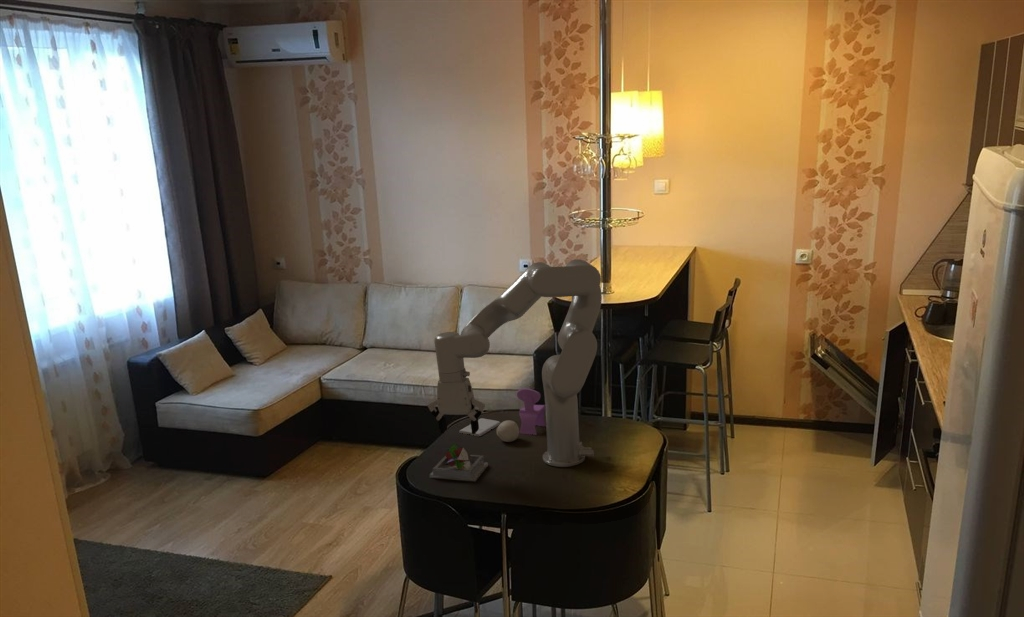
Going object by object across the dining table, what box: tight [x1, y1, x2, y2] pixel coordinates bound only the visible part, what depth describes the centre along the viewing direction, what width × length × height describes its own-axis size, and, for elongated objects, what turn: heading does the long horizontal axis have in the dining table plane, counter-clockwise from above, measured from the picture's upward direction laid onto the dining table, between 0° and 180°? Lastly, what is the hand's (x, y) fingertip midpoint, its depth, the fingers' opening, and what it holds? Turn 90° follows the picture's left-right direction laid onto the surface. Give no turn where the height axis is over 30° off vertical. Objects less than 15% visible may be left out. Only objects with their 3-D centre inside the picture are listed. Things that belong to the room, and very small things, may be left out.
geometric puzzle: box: [444, 443, 470, 469], centre depth 228 cm, size 7×7×8 cm
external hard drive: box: [458, 417, 501, 437], centre depth 262 cm, size 2×8×12 cm
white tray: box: [429, 454, 489, 482], centre depth 228 cm, size 14×12×3 cm
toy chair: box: [516, 387, 546, 436], centre depth 257 cm, size 8×9×15 cm
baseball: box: [496, 419, 520, 443], centre depth 249 cm, size 7×7×7 cm
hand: (459, 431), depth 226 cm, fingers open, 9 cm apart
